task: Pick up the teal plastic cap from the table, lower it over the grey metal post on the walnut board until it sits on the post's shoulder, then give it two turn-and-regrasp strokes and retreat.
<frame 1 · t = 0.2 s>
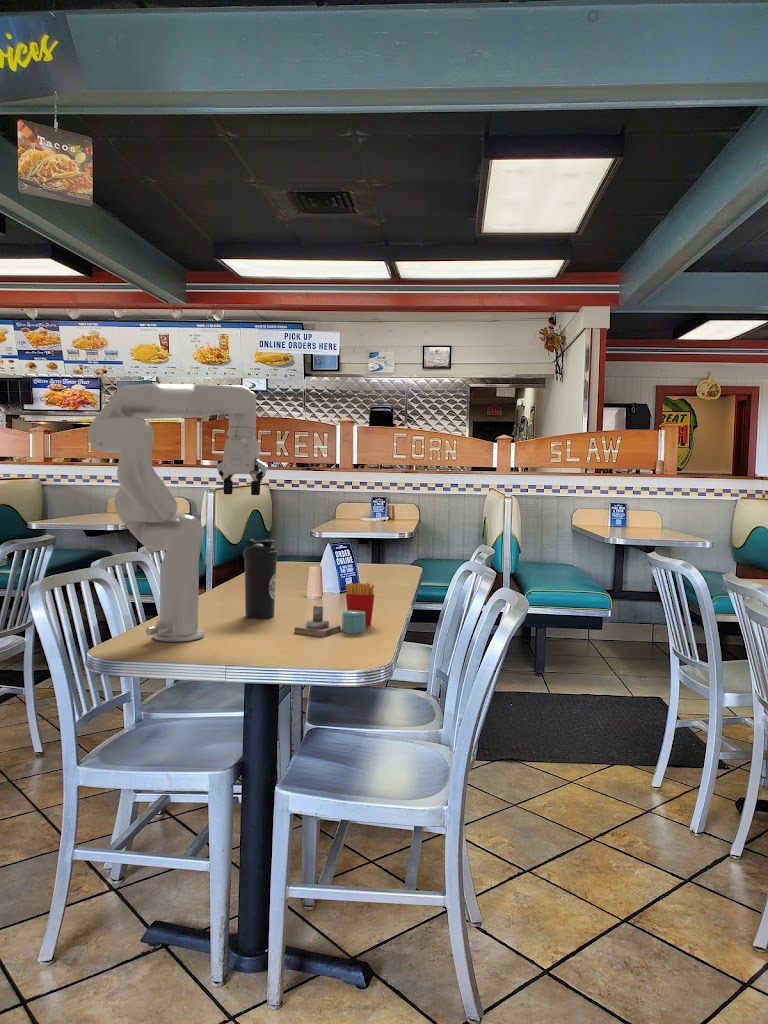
hand: (241, 494, 202), 36 cm above the table, tool pointing down, fingers open, 9 cm apart
post stand: (317, 632, 192), on the table
french fries: (358, 625, 204), on the table
cap: (353, 630, 194), on the table
water bottle: (259, 616, 213), on the table
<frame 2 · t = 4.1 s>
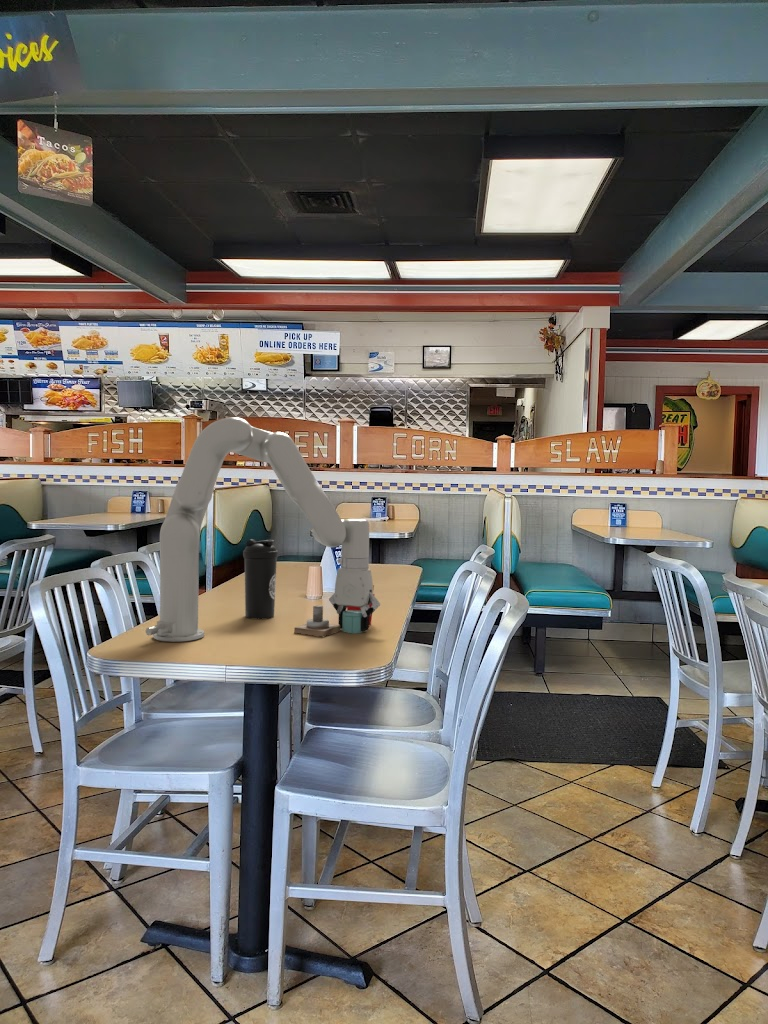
hand: (353, 628, 194), 1 cm above the table, tool pointing down, fingers closed on cap, 6 cm apart
cap: (353, 630, 194), on the table, touching gripper
everything else where it was.
when the fingers open (5 cm above the table, at t = 8.4 s): cap stays where it is, resting on post stand.
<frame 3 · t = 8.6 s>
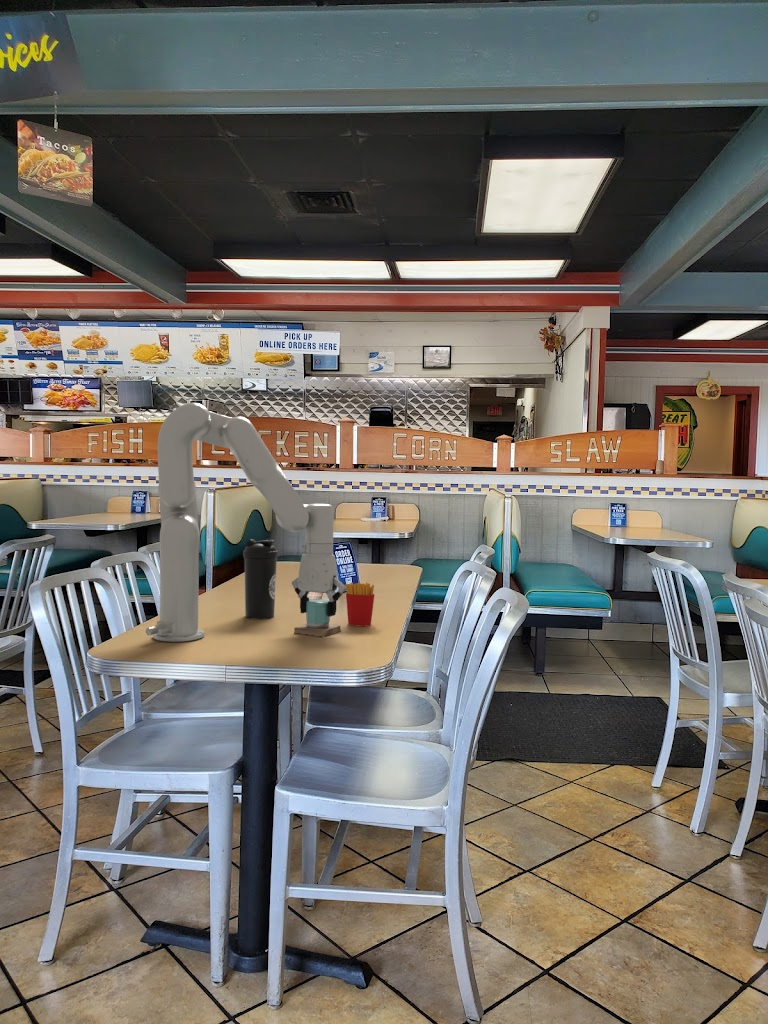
hand: (317, 613, 192), 5 cm above the table, tool pointing down, fingers open, 8 cm apart
cap: (317, 621, 192), point 3 cm above the table, touching post stand
everything else where it was.
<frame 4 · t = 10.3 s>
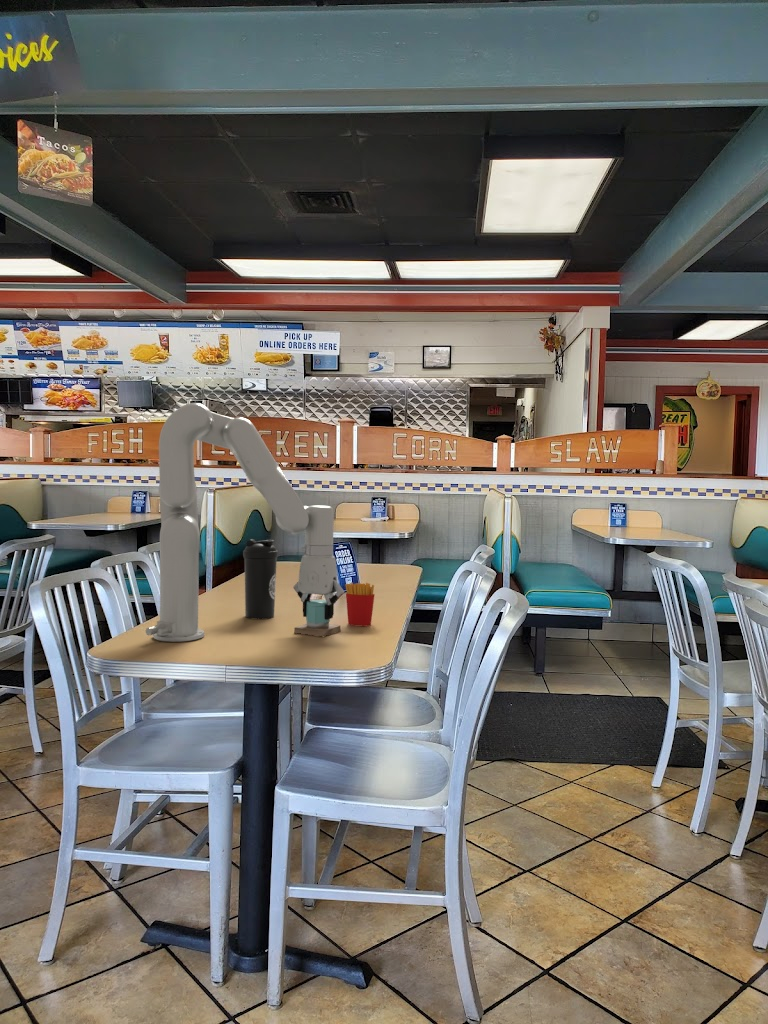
hand: (317, 616, 192), 4 cm above the table, tool pointing down, fingers closed on cap, 6 cm apart
cap: (317, 621, 192), point 3 cm above the table, touching gripper, post stand
everything else where it was.
when the fingers open (4 cm above the table, at t = 14.2 s): cap stays where it is, resting on post stand.
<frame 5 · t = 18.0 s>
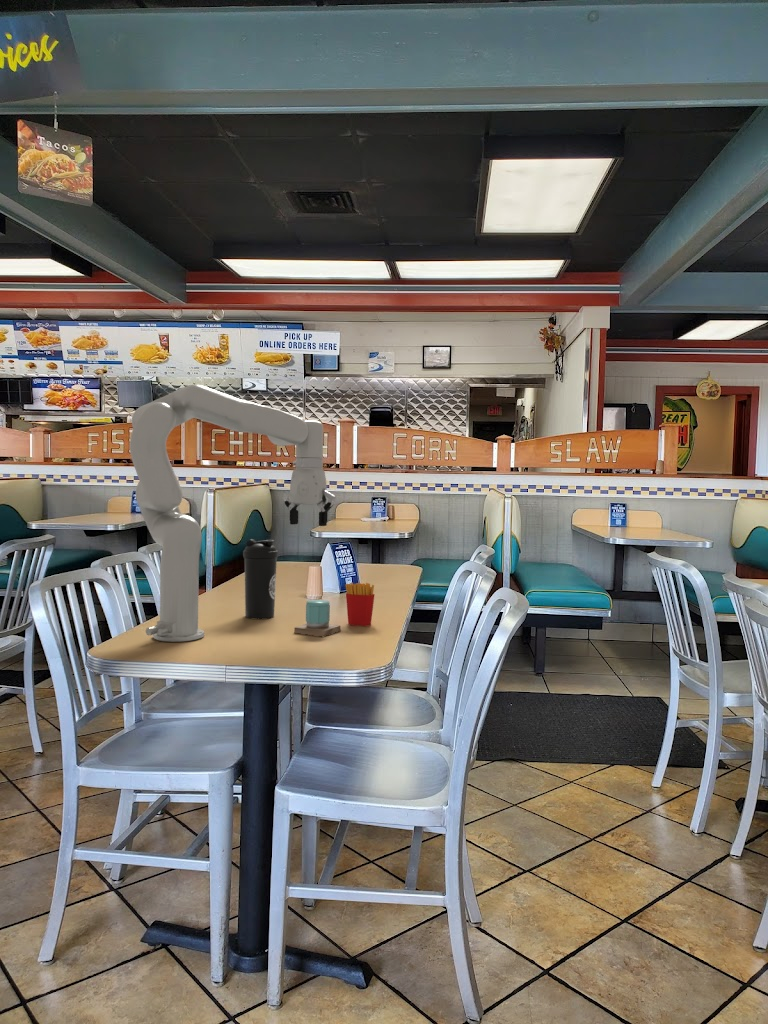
hand: (308, 525, 201), 28 cm above the table, tool pointing down, fingers open, 9 cm apart
cap: (317, 621, 192), point 3 cm above the table, touching post stand
everything else where it was.
at the end: cap 0.0 cm off-centre on the post stand, point 3.0 cm above the post stand's base; cap tilted 0°; the gripper is holding nothing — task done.
